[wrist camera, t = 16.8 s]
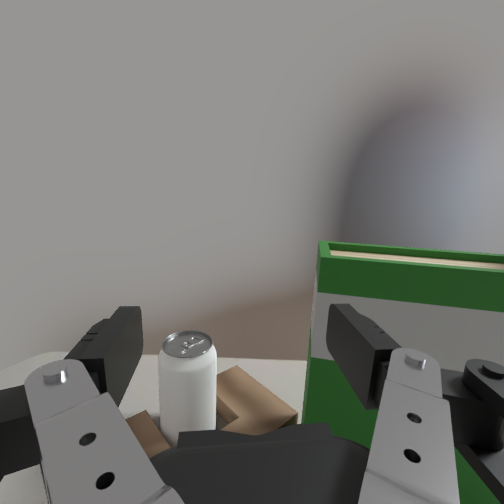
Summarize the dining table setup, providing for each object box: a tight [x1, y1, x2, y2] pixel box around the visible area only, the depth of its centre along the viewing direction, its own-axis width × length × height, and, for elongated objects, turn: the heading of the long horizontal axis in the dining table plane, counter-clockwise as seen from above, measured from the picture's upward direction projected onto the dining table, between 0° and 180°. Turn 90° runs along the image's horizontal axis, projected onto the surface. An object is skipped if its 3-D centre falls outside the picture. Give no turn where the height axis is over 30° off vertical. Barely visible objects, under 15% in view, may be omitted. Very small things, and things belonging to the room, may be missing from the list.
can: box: [158, 330, 217, 447], centre depth 33 cm, size 6×6×12 cm
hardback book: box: [301, 241, 504, 504], centre depth 27 cm, size 18×7×24 cm, turn 78°
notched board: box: [126, 365, 298, 458], centre depth 33 cm, size 20×12×2 cm, turn 132°
